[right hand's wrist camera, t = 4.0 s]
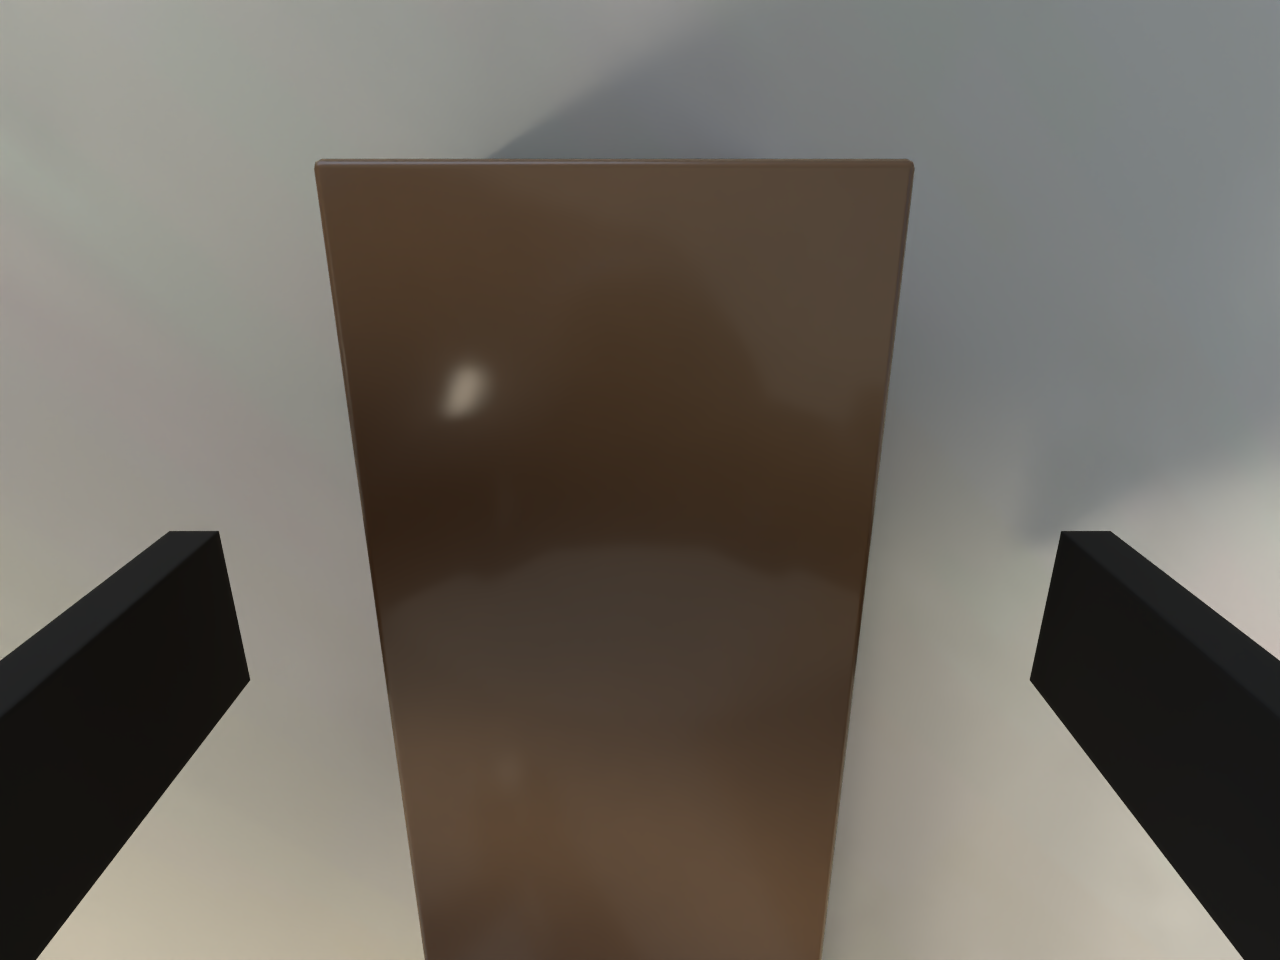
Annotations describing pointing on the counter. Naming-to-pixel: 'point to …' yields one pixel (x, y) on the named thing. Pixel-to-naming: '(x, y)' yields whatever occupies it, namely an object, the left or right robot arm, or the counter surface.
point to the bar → (618, 531)
